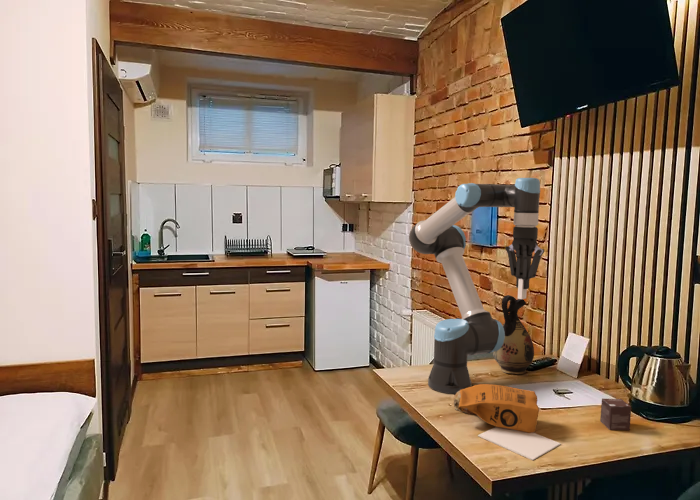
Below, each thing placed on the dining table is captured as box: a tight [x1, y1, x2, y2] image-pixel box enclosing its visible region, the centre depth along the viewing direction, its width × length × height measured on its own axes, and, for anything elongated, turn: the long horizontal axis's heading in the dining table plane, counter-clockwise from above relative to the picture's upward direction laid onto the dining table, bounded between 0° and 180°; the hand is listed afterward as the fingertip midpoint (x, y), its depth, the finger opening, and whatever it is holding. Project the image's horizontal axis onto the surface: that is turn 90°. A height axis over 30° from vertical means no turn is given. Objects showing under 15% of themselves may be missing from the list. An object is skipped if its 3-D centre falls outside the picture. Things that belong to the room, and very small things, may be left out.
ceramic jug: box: [492, 295, 535, 375], centre depth 198 cm, size 17×15×30 cm
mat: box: [477, 426, 561, 461], centre depth 142 cm, size 17×14×1 cm
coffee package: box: [458, 383, 540, 433], centre depth 152 cm, size 10×12×22 cm
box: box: [599, 398, 632, 431], centre depth 152 cm, size 6×6×7 cm
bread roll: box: [453, 391, 476, 415], centre depth 163 cm, size 10×10×8 cm
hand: (521, 298), depth 167 cm, fingers closed
